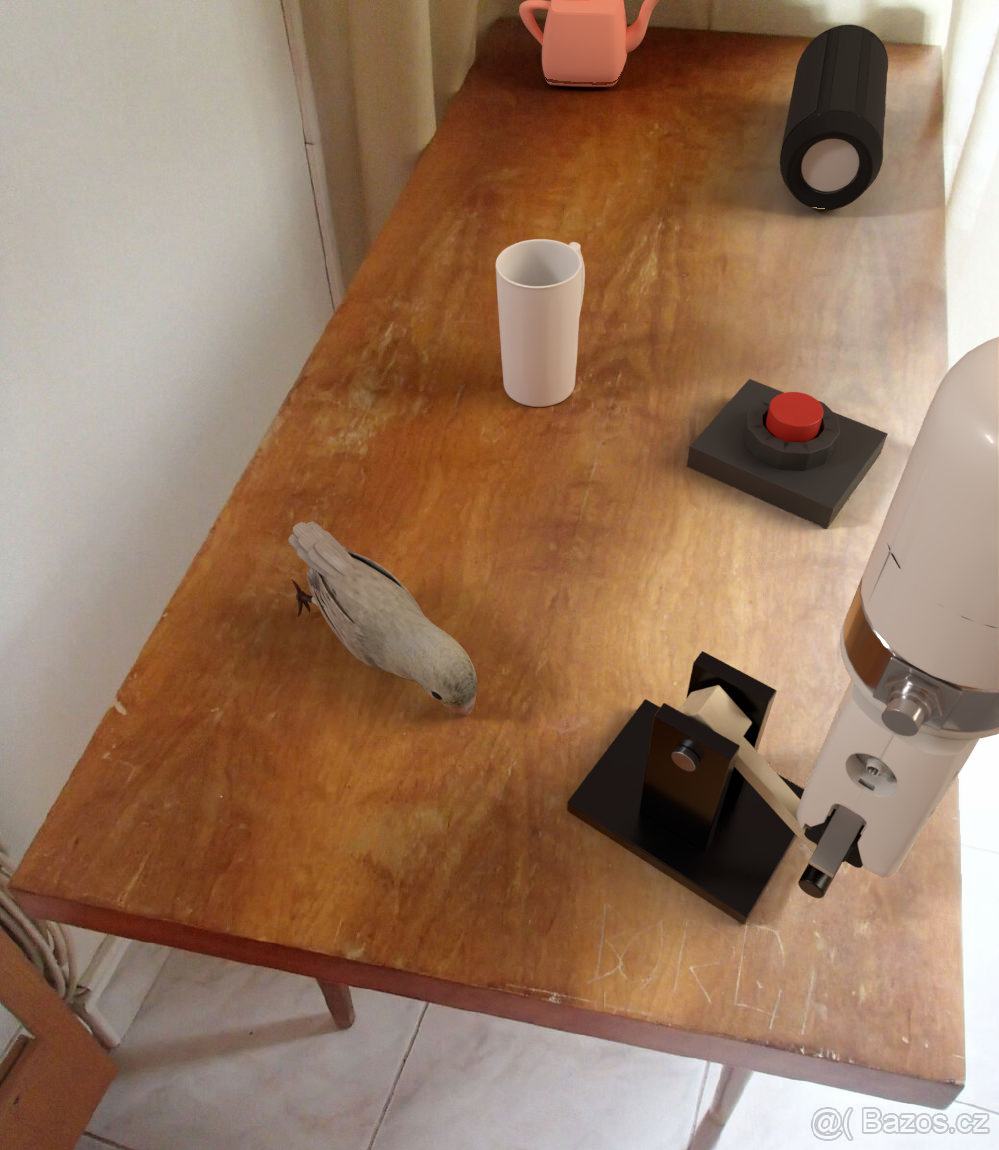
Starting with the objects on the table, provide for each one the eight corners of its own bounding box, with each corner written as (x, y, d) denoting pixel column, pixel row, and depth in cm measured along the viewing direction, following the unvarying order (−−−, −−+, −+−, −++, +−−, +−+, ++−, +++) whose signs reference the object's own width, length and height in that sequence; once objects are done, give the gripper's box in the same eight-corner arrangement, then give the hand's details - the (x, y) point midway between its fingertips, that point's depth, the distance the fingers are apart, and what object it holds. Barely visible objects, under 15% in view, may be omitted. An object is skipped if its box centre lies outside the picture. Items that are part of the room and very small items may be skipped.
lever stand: (814, 806, 60) (863, 699, 51) (744, 925, 55) (783, 832, 46) (643, 708, 64) (659, 594, 55) (566, 811, 60) (569, 705, 51)
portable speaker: (868, 224, 100) (894, 127, 93) (769, 214, 102) (786, 118, 95) (876, 110, 116) (899, 19, 108) (790, 103, 118) (806, 12, 110)
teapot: (526, 52, 130) (525, -36, 122) (664, 56, 128) (672, -34, 120) (513, 91, 123) (511, 0, 115) (659, 96, 120) (668, 4, 112)
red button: (827, 421, 76) (832, 403, 75) (804, 450, 74) (809, 433, 73) (780, 402, 78) (784, 384, 77) (756, 430, 76) (760, 413, 75)
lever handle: (842, 828, 56) (874, 826, 54) (803, 898, 53) (835, 899, 51) (703, 674, 54) (731, 665, 52) (656, 738, 52) (684, 732, 50)
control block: (880, 454, 79) (894, 415, 76) (826, 529, 74) (839, 491, 71) (745, 399, 84) (752, 360, 81) (686, 466, 79) (691, 428, 76)
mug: (549, 420, 83) (550, 297, 74) (485, 392, 86) (478, 270, 76) (612, 357, 88) (620, 235, 79) (549, 332, 91) (550, 212, 82)
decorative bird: (444, 746, 63) (434, 680, 57) (285, 615, 71) (262, 545, 65) (501, 693, 66) (496, 625, 60) (341, 572, 73) (324, 500, 67)
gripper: (976, 836, 33) (844, 1004, 47) (1106, 558, 40) (958, 775, 54) (771, 722, 36) (704, 913, 50) (927, 483, 43) (831, 707, 57)
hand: (837, 841), depth 52 cm, fingers closed
